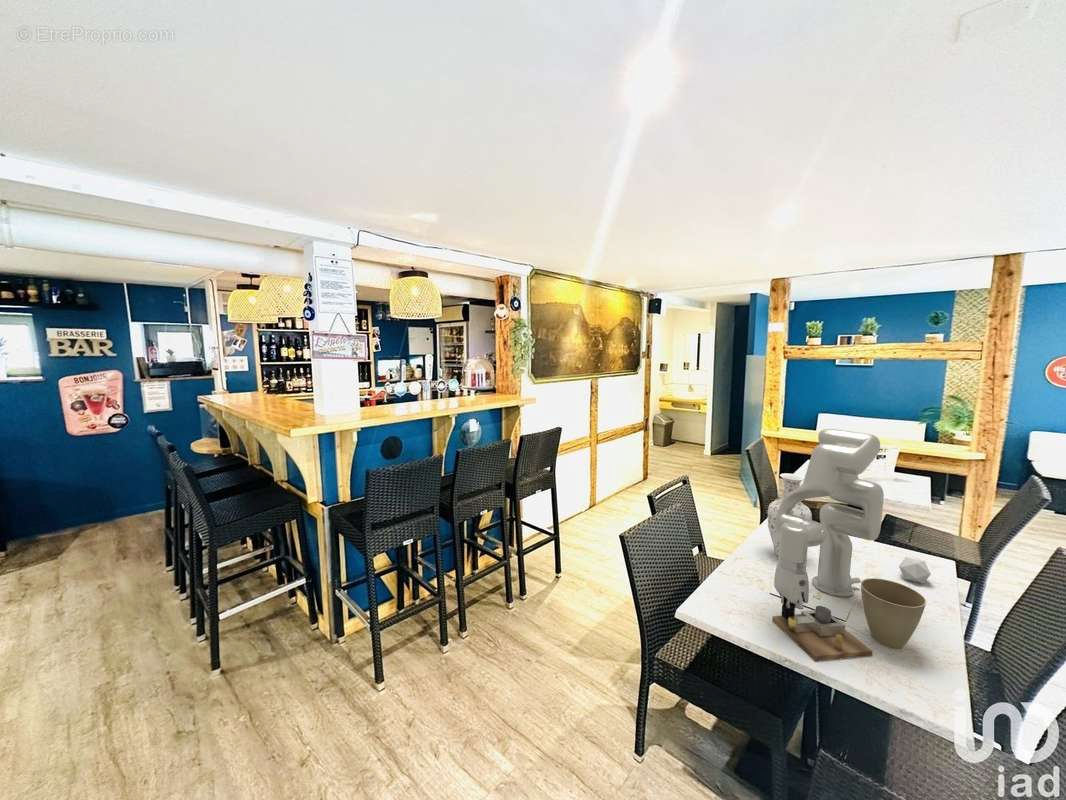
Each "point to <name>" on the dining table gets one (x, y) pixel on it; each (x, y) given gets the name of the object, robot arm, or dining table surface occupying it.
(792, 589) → the robot arm
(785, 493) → the vase
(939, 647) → the dining table surface
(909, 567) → the die
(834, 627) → the square frame with handle
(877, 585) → the plant pot
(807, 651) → the board
